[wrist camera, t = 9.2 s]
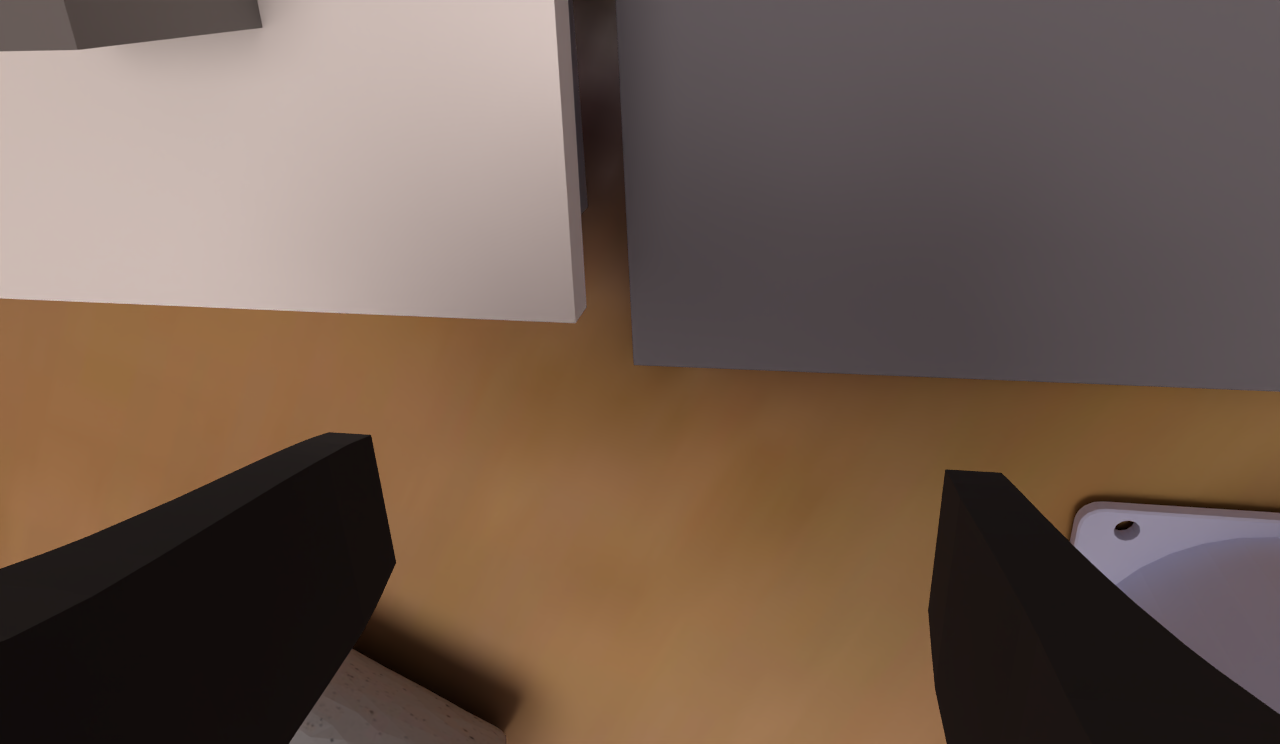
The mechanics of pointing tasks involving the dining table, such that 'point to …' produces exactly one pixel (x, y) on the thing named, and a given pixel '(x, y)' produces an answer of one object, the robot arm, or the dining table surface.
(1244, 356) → the mat
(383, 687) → the ceramic mug
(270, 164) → the lid
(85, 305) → the dining table surface
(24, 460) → the dining table surface
